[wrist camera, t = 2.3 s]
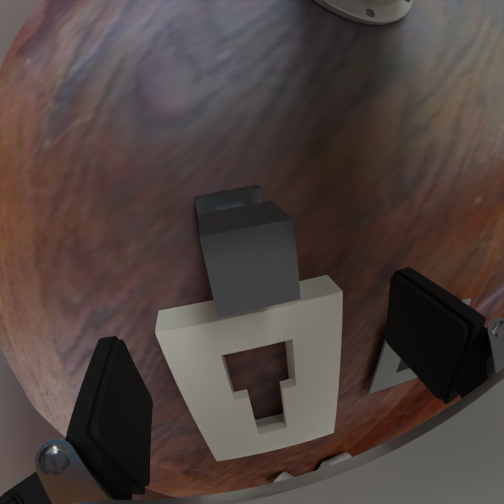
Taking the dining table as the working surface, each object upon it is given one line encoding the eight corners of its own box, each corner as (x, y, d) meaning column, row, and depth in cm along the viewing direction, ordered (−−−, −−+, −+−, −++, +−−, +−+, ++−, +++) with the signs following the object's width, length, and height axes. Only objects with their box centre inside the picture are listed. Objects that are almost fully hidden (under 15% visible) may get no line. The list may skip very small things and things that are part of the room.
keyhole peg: (194, 196, 20) (193, 233, 12) (257, 184, 20) (297, 213, 12) (206, 254, 22) (214, 321, 14) (265, 242, 22) (304, 301, 14)
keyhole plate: (158, 310, 22) (154, 332, 20) (326, 274, 24) (342, 291, 21) (214, 441, 30) (216, 461, 27) (325, 415, 31) (333, 432, 29)
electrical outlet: (460, 291, 29) (472, 300, 27) (437, 357, 33) (446, 366, 31) (381, 310, 27) (393, 322, 25) (361, 382, 31) (369, 395, 29)
